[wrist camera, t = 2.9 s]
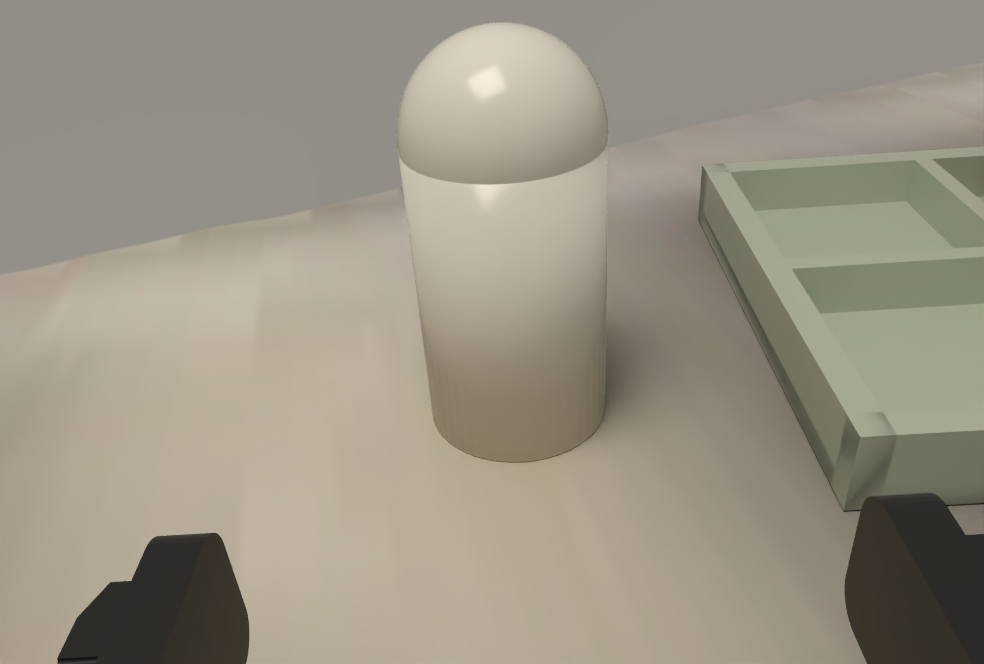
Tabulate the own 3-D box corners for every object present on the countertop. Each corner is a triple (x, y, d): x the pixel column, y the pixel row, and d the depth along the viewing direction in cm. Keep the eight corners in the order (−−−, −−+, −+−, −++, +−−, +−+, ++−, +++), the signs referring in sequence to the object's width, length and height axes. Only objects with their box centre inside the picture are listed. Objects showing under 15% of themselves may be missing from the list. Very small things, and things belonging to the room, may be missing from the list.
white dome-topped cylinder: (428, 467, 22) (371, 65, 16) (436, 359, 26) (393, 8, 20) (616, 456, 22) (624, 47, 16) (594, 350, 26) (595, -7, 20)
